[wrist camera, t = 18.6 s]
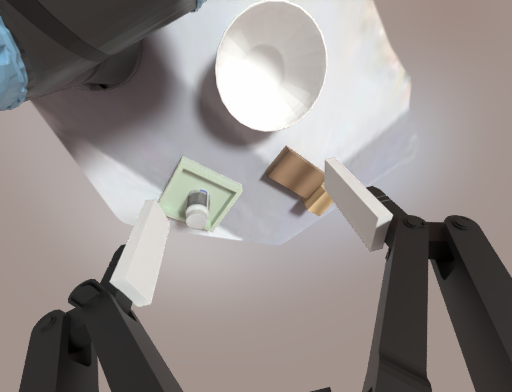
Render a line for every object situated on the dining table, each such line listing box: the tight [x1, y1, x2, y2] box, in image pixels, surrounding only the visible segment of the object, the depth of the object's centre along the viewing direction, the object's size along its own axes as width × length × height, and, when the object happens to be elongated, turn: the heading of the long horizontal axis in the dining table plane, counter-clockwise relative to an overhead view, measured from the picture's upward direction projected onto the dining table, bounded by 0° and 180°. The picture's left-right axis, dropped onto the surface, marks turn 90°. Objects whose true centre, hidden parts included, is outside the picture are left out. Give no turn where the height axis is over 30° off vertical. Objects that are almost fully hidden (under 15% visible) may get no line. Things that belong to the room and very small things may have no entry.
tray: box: [158, 156, 243, 232], centre depth 47 cm, size 14×14×3 cm
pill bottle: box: [185, 188, 210, 229], centre depth 44 cm, size 5×5×8 cm
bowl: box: [215, 0, 327, 132], centre depth 32 cm, size 16×16×7 cm
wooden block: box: [301, 183, 334, 216], centre depth 50 cm, size 4×6×5 cm, turn 146°
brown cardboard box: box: [266, 146, 325, 199], centre depth 47 cm, size 12×7×3 cm, turn 54°
